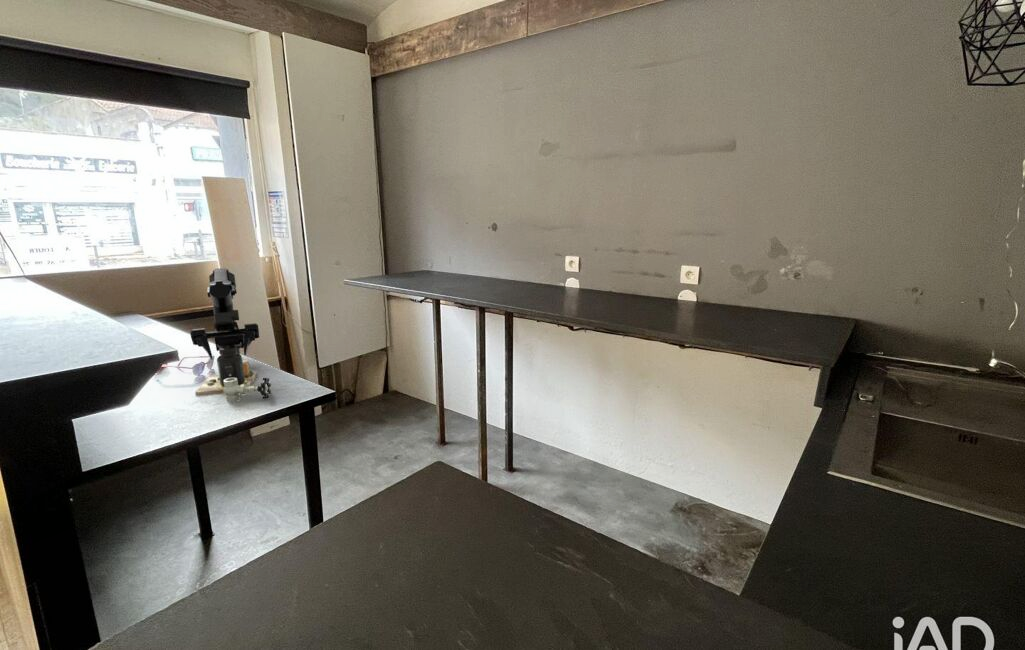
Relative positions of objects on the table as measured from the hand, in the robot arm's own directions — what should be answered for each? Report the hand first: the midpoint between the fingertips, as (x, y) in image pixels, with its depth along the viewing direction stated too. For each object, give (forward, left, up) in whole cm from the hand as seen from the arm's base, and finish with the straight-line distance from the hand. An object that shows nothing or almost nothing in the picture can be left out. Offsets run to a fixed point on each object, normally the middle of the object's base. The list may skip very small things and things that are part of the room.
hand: (228, 356), depth 152 cm
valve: (+14, +7, -10) cm, 18 cm away
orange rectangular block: (-6, +2, -8) cm, 10 cm away
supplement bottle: (+3, +1, -8) cm, 9 cm away
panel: (-1, -1, -10) cm, 10 cm away
